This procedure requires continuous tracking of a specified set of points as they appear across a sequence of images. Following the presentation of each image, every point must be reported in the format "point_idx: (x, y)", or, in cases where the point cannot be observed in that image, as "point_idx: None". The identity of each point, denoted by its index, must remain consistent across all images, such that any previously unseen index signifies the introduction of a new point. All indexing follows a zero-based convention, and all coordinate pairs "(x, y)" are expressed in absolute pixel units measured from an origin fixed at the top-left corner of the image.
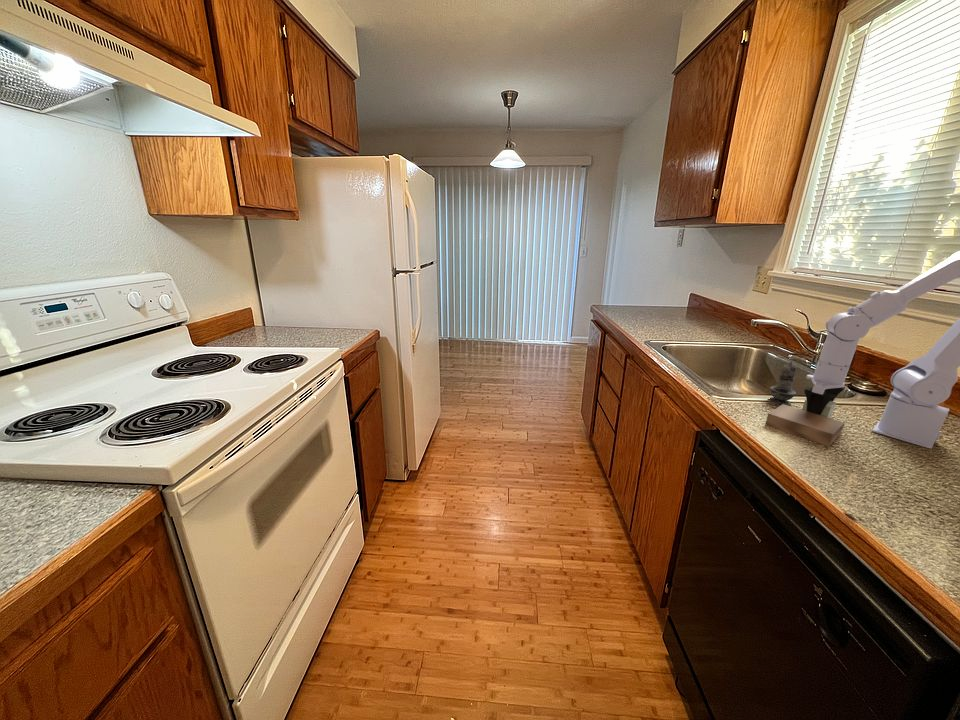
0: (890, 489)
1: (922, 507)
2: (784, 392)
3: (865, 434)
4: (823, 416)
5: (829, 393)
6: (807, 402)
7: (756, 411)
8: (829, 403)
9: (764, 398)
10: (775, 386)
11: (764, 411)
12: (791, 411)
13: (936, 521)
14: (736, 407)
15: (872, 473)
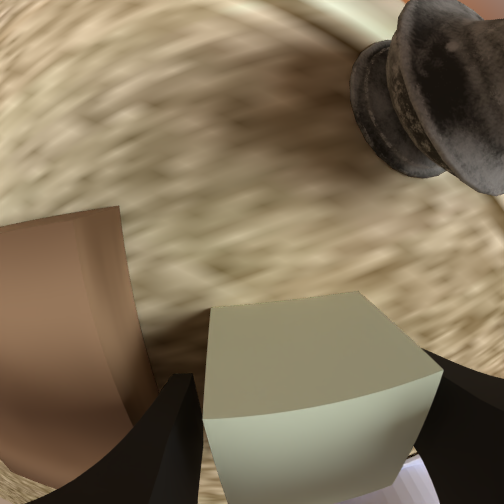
0: (14, 487)
1: (21, 501)
2: (438, 103)
3: None
4: None
5: (458, 477)
6: (112, 451)
7: (41, 100)
8: (325, 496)
9: (383, 24)
10: (470, 19)
11: (84, 118)
12: (1, 334)
13: (11, 500)
14: (20, 29)
15: (28, 483)
